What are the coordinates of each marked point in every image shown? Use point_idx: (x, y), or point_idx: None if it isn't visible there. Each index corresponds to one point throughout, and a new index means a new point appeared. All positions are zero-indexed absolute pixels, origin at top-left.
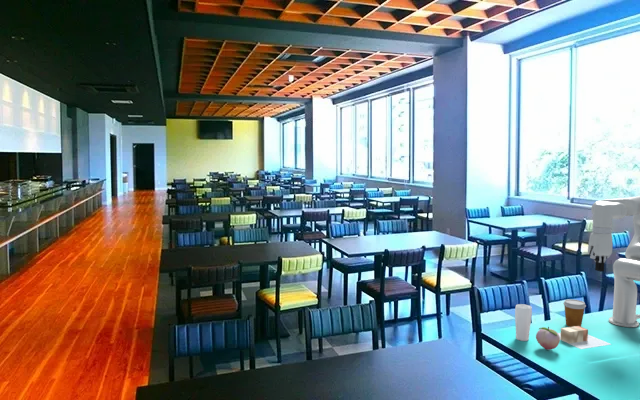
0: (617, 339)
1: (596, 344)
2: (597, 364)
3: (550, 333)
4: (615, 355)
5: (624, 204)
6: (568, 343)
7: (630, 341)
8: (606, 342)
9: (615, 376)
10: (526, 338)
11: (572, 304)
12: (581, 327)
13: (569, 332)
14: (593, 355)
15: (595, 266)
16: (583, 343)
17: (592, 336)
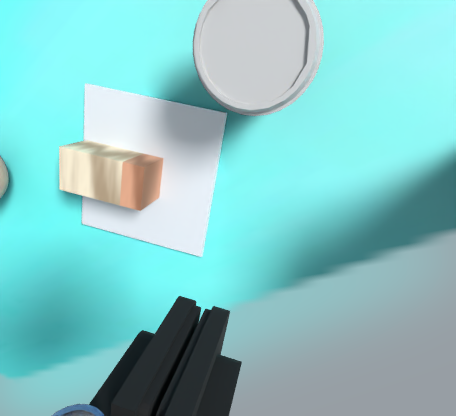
0: (278, 240)
1: (156, 231)
2: (53, 289)
3: None
4: (143, 292)
5: None
6: None
7: (298, 272)
8: (201, 240)
9: (39, 337)
10: None
11: (199, 71)
12: (138, 184)
13: (60, 186)
14: (89, 259)
15: (160, 327)
16: None
17: (212, 185)
